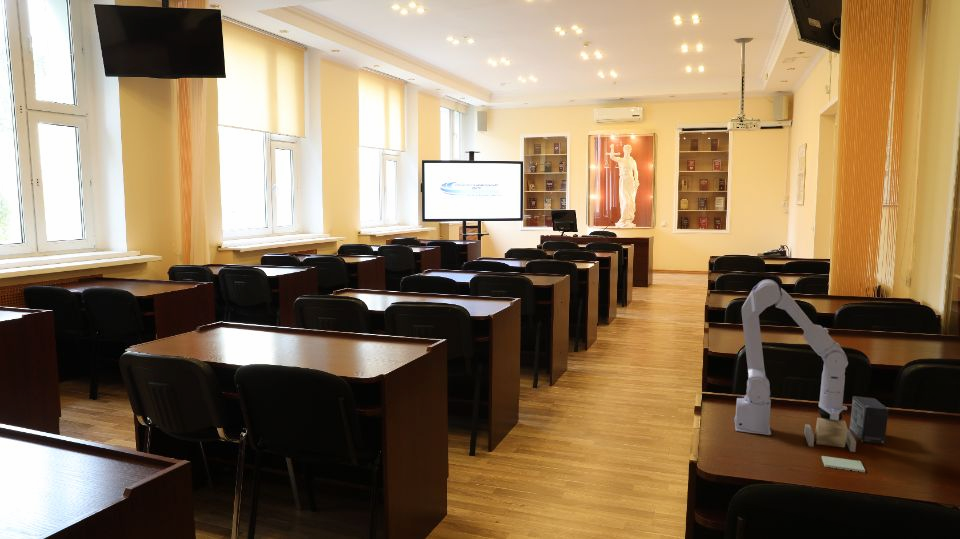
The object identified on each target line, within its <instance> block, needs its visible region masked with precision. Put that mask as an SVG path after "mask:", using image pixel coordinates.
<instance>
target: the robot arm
mask: <svg viewBox="0 0 960 539" xmlns="http://www.w3.org/2000/svg"><path fill="white" fill-rule="evenodd" d="M773 305H774V306H775V308H777V309H780V310H783V311H786V313H787V314H788V315H789V317H791V318H792V319H793V321H794V322H795V323H796V324H797V326H799V327H800V328H801V329H802V331H803V335H802V336H803V339H804V341H806V342H807V344H808V345H809V346H810V347H811V349H812V350H813V351H814V352H815V353H816V354H817V355H818V356H820V357H821V359H822V361H823V367H822V368H823V370H822V373H821V383H820V393H819V402H818V407H819V408H820V409H819V408H818V413H819V416H820V418H825V419H831V420H842V419H843V415H842V412H843V411H847V410H848V407H847V405H843V403H844V394H845V393H844V391H845V382H846V379H845V378H846V375H845V373H846V368H847V367H848V365H849V361H848V357H847V355H846V352H845V351H844V350H843V348H842V347H841V344H840V343H839V342H836V341H835V340H834V339H833V338H832V337H831V335H830V334H829V330H828V329H827V327H823V326H822V325H820V324H814V323H813V322H812V321H811V320H810V318H809V317H808V315H806V313H805V311H803V309H801V307H800V306H799V305H798V304H797V302H796V301H795V300H794V298H793V297H792V296H791V295H790V294H789V293H788V292H787V291H786V290H785V289H783V288H782V287H780V286H779V284H778V283H777V282H776V281H775V280H773V279H762V280H761V281H759V282H758V283H757V284H756V285H755V286H753V288H752V289H751V291H750V293H749V294H748V296H747V298H746V299H745V301H744V303H743V305H742V306H741V318H742V319H741V320H742V328H743V336H744V345H745V346H744V347H745V356H746V363H747V373H748V374H747V377H748V379H747V381H746V394H745V395H744V396H743V397H737V398H736V404H735V416H734V419H733V420H734V421H733V422H734V426H735V431H736V432H742V433H752V434H758V435H759V434H760V435H766V436H771V435H772V431H771V427H770V418H771V417H770V416H771V405H772V404H771V402H772V400H771V397H770V396H771V389H770V387H771V383H770V381H769V379H768V378H767V376H766V375H767V374H766V370H765V364H764V355H763V354H764V352H763V344H762V342H763V341H762V336H761V334H762V333H761V327H760V326H761V325H760V317H759V316H760V314H762V313H763V311H765V310H766V308H768V307H771V306H773Z"/></svg>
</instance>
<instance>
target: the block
mask: <svg viewBox="0 0 960 539" xmlns="http://www.w3.org/2000/svg"><path fill="white" fill-rule="evenodd" d="M848 430H849V428H848V426H847V422H846V420H842V419H841V420H831V419H825V418H821V417H817V418H816V426H815V433H814V439H815V442H816V445H823V446H828V447H829V446H831V447H838V448H844V447H845V448H846V437H847V431H848Z"/></svg>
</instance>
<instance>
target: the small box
mask: <svg viewBox="0 0 960 539" xmlns="http://www.w3.org/2000/svg"><path fill="white" fill-rule="evenodd" d="M888 416H889V408H888V407H887V406H885V405H884V404H882V403H881V402H880V401H879V400H878V399H876V398H873V397H865V396H858V395H857V396H856V395H853V396H852V404H851V413H850V421H849V428H848V430H850V431H851V433H852V435H853V436H855V437H856V439H858V440H859V442H861V443H867V444H876V445H877V444H878V445H885V443H886V436H887V426H888Z"/></svg>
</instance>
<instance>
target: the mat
mask: <svg viewBox="0 0 960 539" xmlns="http://www.w3.org/2000/svg"><path fill="white" fill-rule="evenodd" d="M821 460H822V463H823V465H824V467H825V468H829V467H830V468H831V469H836V468H837V470H843V469H844V471H850V470H852V471H851V472H858V471H859V473H866V469H865V467H864V465H863V463H862V461H860V460H855V459H848V458H839V457H832V456H827V455H826V456H825V455H821Z"/></svg>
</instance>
